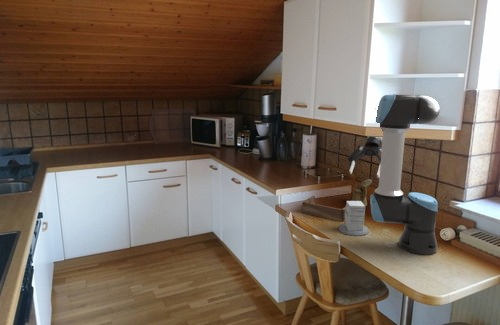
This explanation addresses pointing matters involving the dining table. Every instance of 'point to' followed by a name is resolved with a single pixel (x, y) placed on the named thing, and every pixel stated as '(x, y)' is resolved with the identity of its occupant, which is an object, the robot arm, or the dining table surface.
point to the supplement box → (354, 215)
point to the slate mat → (353, 233)
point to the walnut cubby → (323, 210)
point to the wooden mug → (361, 191)
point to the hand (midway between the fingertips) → (363, 174)
